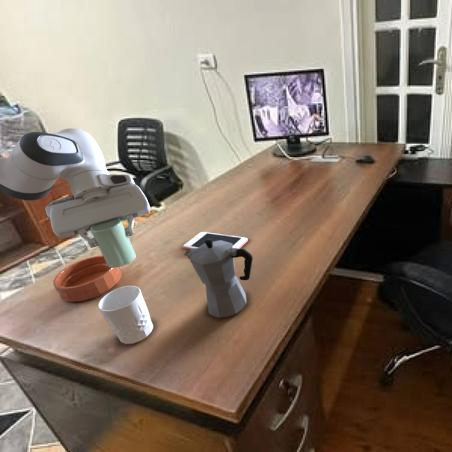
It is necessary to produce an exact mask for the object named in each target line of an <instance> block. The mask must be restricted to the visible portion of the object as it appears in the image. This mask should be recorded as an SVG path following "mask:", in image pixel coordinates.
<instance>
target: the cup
mask: <svg viewBox="0 0 452 452" xmlns="http://www.w3.org/2000/svg"><path fill="white" fill-rule="evenodd" d="M125 228H126V227H125V226H124V224H123V221H121V220H120V219H119V218H116V219H112V220H109V221H105V222H102V223H99V224H95V225H93V226H92V227H91V228H90V231H89V232H90V233H91V235H92V238H94V239H95V241H96V243H97V245H98V246H97V248H98V249H99V251H100V253H101V256H103V257H104V259H105V261H106V263H107V265H108V266H109V267H112V268H116V267H119V268H121V267H124V266H127V265H129V264H130V263H132V262H133V261H134V260H136V258H137V254H136V251H135V249H134V246H133V244H132V241H131V240H130V238H129V237H130V236H127V234H126V231H125Z"/></svg>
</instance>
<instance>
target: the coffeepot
mask: <svg viewBox="0 0 452 452" xmlns="http://www.w3.org/2000/svg"><path fill="white" fill-rule="evenodd" d="M183 256H185V257H187V258H188V259H189V261H190V264H191V265H192V267H193V268H194V270H195V272H196V274H197V276H198V278H199V280H200V281H201V283H202V284H204V285H205V293H206V301H207V311H208V314H210V315H211V316H213V317H216V318H220V319H221V318H229V317H232V316H234V315H237V314H238V313H239V312H241V311H242V310H243V309H244V308H245V307H246V305H247V294H246V292H245V290H244V288H243V287H242V284H241V282H240V281H249V280H250V279H251V271H252V266H253V265H252V264H253V261H254V259H253V258H254V257H253V255H252V253H250V252H249V250H247V249H246V248H240V249H238V248H233V246H232V243H229V242H225V241H222V240H219V241H214V242H212V239H207V240H205V244H203V245H201V246H200V247H198V248H195V249H188V250H186V251H185V253H184V254H183ZM236 258H243V259H244V261H243V262H244V263H243V265H244V268H243V274H244V275H243V276H242V275H241V276H237V275H236V267H235V259H236ZM238 277H239V278H238Z"/></svg>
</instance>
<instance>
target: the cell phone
mask: <svg viewBox="0 0 452 452" xmlns="http://www.w3.org/2000/svg"><path fill="white" fill-rule="evenodd" d="M207 239H212V242H214V241H219V240H222V241H225V242H229V243H232V246H233V248H238V249H242V247H243V246H244V245H246V243H247V242H248V241H249V240H248V238H247V237H242V236H237V235H228V234H221V233H215V232H214V233H213V232H208V231H207V232H206V231H200V232H199V233H198V234H196V235H195V236H193V238H191V239H190V240H188V241H187V242H186V243H185V244H183V245H182V247H183V249H188V250H191V249H195V248H198V247H200V246H201V245H203V244H205V240H207Z"/></svg>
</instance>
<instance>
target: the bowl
mask: <svg viewBox="0 0 452 452" xmlns="http://www.w3.org/2000/svg"><path fill="white" fill-rule="evenodd" d="M120 268H121V267H116V268H112V267H109V266H108V265H107V263H106V261H105V259H104V257H103V255H96V256H91V257H87V258H84V259H81V260H79V261H77V262H74V263H73V264H70V265H68V266H66V267H65V268H64V269H62V270H61V271H59V273H58V274H57V275H56V276H55V277H54V278H53V280H52V283H53V287H54V288H55V290H56V291H57V293H58V295H59V296H60V298H61V299H62V300H64V301H66V302H71V303H72V302H83V301H88V300H91V299H94V298H97V297H99V296H101V295H103V294H105V293H107V292H108V291H110V290H111V289H112V288H114V287H115V285H117V283H119V281H120V280H121V278H122V275H123V273H122V270H121V269H120Z"/></svg>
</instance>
